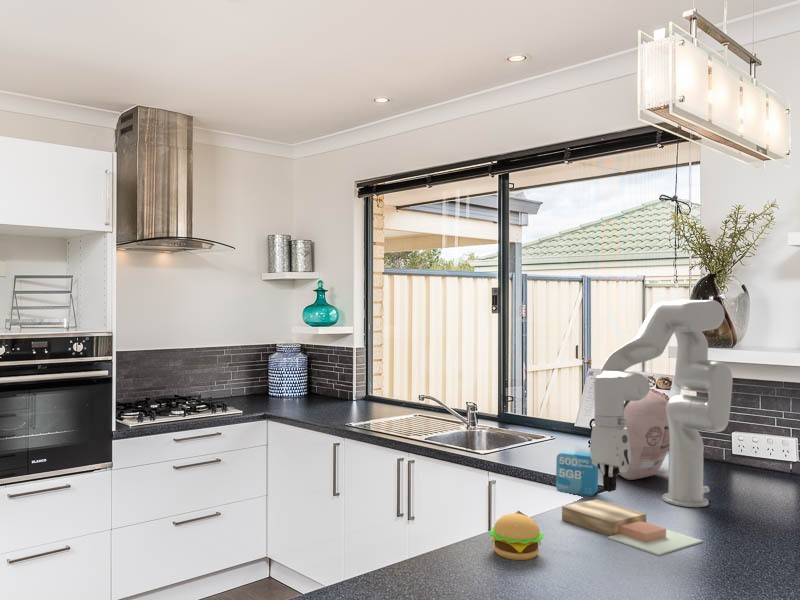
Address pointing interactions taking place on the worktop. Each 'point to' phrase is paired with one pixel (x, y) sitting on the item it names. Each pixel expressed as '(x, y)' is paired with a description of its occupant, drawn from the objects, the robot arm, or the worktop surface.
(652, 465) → the pink rounded piece
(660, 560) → the worktop surface
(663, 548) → the sage mat
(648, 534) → the terracotta coaster
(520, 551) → the hamburger
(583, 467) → the data package
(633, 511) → the oak board
